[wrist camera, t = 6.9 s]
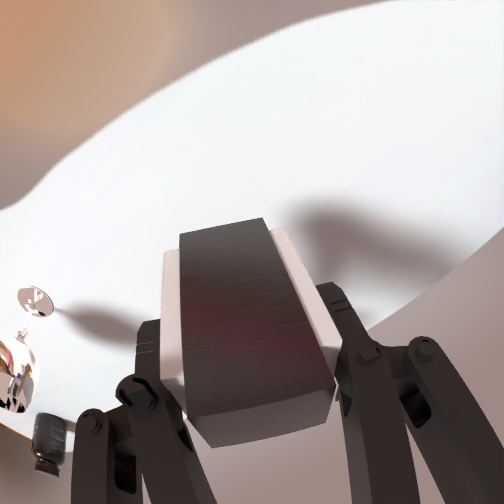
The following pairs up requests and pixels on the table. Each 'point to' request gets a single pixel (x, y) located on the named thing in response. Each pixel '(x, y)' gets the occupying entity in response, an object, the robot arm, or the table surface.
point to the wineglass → (21, 355)
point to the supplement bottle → (49, 444)
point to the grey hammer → (246, 339)
